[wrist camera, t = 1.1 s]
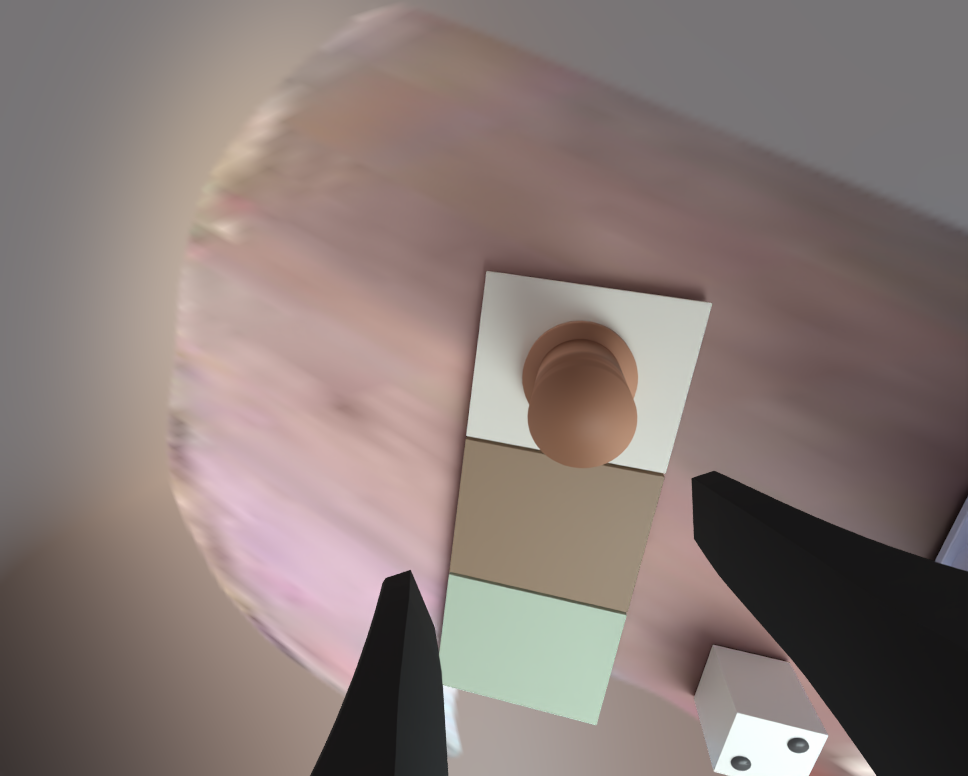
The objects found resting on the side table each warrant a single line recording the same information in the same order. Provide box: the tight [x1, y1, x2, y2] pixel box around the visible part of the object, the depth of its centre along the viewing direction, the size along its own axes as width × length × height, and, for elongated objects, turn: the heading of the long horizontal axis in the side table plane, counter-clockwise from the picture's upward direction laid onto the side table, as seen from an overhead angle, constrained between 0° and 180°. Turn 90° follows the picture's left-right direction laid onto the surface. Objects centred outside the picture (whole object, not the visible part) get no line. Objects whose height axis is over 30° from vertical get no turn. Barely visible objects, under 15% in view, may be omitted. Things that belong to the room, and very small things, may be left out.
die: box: [694, 645, 828, 776], centre depth 24 cm, size 4×4×4 cm
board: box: [439, 271, 712, 725], centre depth 25 cm, size 10×25×1 cm, turn 173°
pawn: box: [522, 321, 638, 468], centre depth 19 cm, size 5×5×6 cm
